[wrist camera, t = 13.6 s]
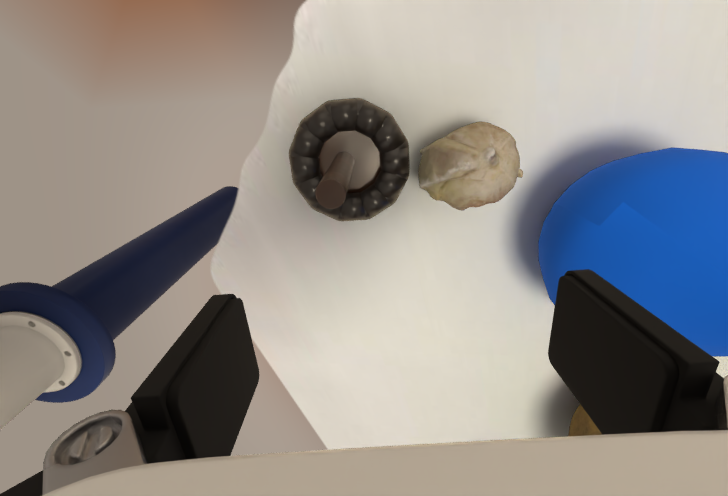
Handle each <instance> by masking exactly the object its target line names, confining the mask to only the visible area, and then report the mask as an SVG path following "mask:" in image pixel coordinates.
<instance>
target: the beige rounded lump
mask: <svg viewBox="0 0 728 496" xmlns="http://www.w3.org/2000/svg"><path fill="white" fill-rule="evenodd" d="M420 153H421V154H422V157H421V162H420V166H419V169H418V173H419V186H420V188H422V189H424V190H426V191H427V192H428V193H429V194H430V196H431V197H432V198H433V199H435V200H441V201H445V202H446V203H448V204H449V205H450V206H452V207H454V208H456V209H458V210H465V209H467V208H469V207H480V206H483V205H485V204H488V203H495V202H497V201H499V200H501V199H502V198H503V197H504V196H505V195H506V194H507V193H508V192H509V191H510V190H511V189H512V188H513V187H514V185H515V183H516V179H517V177H522V176H523V171H522V170H521V169H519V168H520V158H519V153H518V150H517V148H516V141H515V139H514V138H513V137H512V136H511V134H509V133H508V132H507V131H505V130H504V129H501V128H499V127H497V126H494V125H492V124H490V123H486V122H476V123H472V124H469V125H466V126H464V127H461V128H459V129H456V130H455V131H453V132H451V133H450V134H448V135H447V136H445V137H444V138H440V139H438V140H436V141H435V142H433V143H432V144H430V145H428V146H427V147H425V148H423V149H421V150H420Z"/></svg>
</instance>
